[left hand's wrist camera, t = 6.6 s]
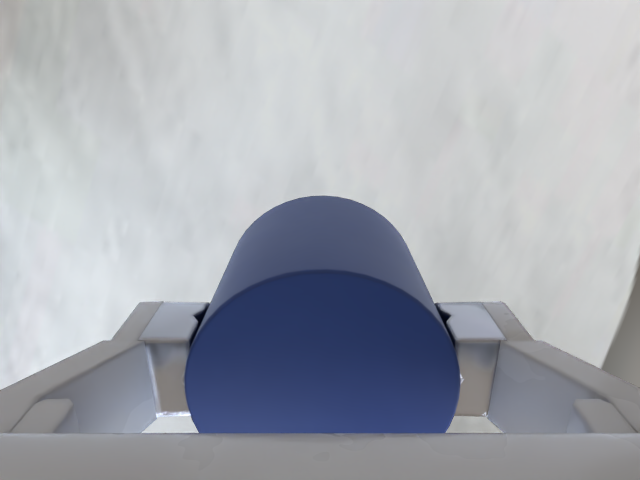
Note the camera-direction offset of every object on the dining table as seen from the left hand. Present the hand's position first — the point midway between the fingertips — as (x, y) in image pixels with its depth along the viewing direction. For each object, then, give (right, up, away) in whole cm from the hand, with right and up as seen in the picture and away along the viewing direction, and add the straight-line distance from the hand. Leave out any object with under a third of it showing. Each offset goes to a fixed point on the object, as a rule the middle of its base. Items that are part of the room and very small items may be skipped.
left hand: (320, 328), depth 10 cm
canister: (0, +1, +2) cm, 2 cm away
